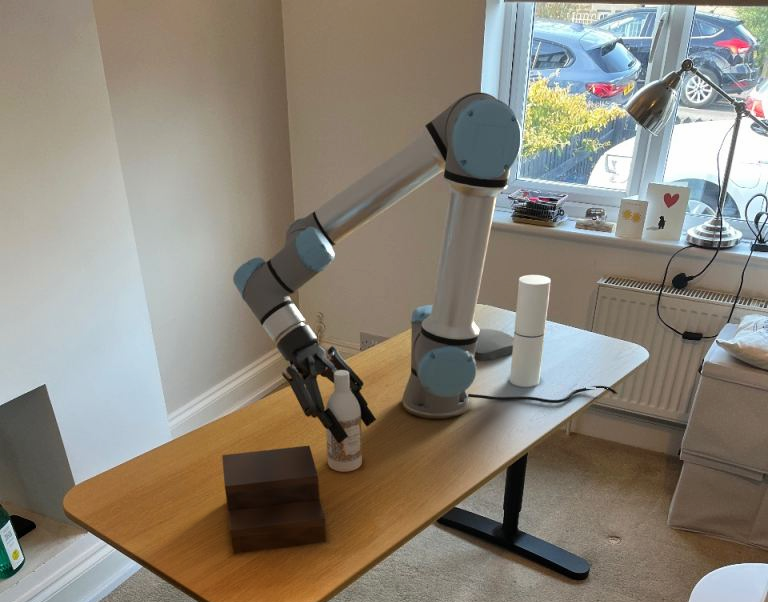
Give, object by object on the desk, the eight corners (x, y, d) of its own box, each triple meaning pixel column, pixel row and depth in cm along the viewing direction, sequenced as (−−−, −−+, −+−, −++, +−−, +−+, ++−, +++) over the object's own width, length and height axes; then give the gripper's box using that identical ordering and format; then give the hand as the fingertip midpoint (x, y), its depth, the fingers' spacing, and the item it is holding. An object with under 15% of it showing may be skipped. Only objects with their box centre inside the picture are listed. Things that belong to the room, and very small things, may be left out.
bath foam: (339, 476, 151) (334, 383, 140) (321, 461, 156) (316, 370, 145) (368, 466, 155) (366, 374, 143) (350, 452, 159) (347, 362, 148)
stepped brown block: (312, 490, 147) (309, 445, 142) (326, 541, 133) (323, 493, 128) (228, 501, 144) (222, 454, 139) (233, 554, 131) (226, 505, 125)
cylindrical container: (504, 381, 188) (512, 280, 174) (520, 372, 192) (530, 272, 178) (528, 389, 184) (539, 286, 170) (544, 380, 188) (556, 279, 174)
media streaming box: (523, 351, 204) (524, 340, 202) (480, 363, 197) (480, 352, 196) (488, 334, 214) (488, 324, 212) (446, 345, 207) (446, 335, 206)
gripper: (317, 328, 158) (379, 420, 158) (244, 360, 144) (312, 460, 145) (335, 308, 152) (400, 403, 153) (261, 340, 138) (332, 444, 139)
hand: (357, 431), depth 149 cm, fingers open, 8 cm apart
